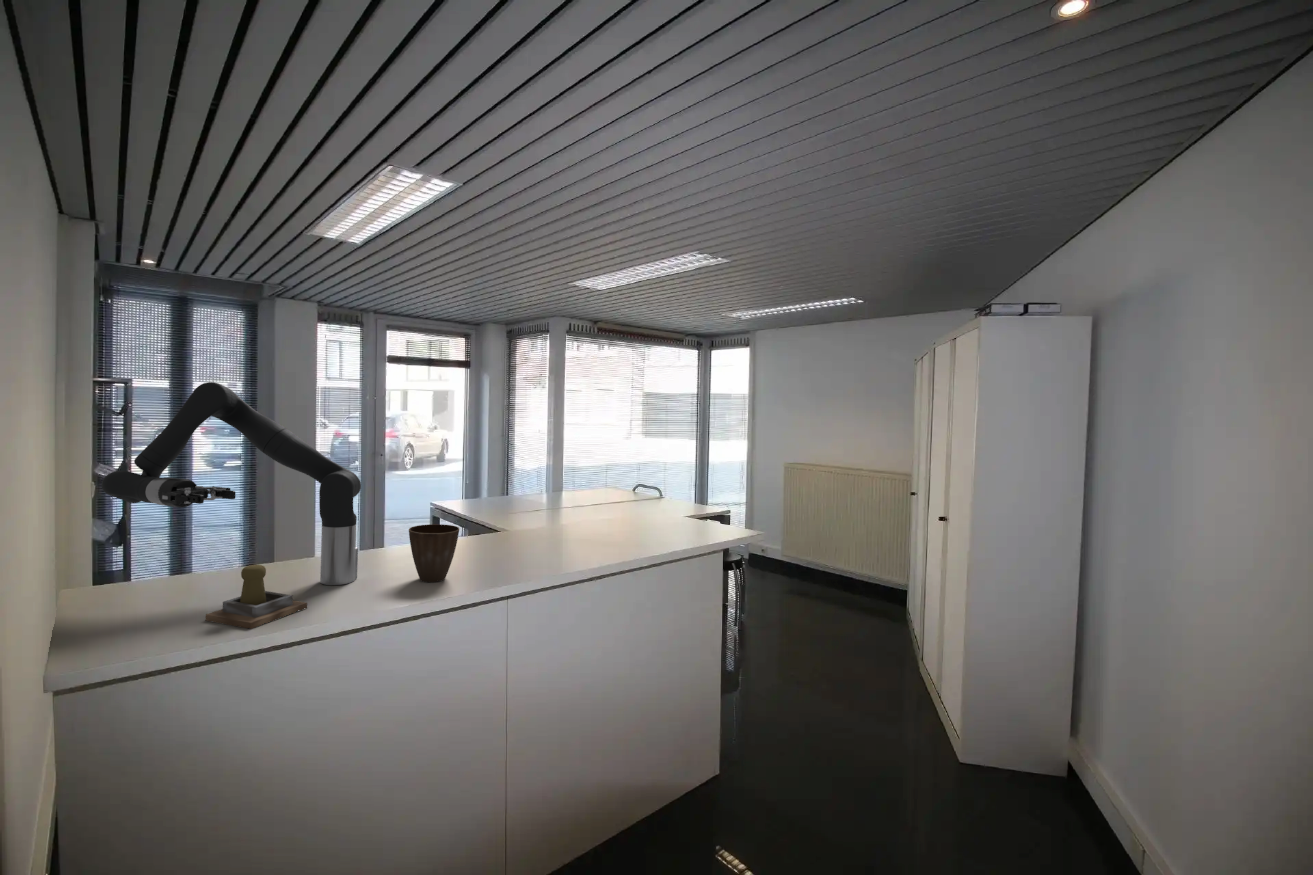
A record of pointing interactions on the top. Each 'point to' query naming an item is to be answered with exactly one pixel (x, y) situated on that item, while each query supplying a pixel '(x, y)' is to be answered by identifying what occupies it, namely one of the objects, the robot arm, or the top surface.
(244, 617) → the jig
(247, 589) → the cork
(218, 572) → the top surface
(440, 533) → the plant pot
